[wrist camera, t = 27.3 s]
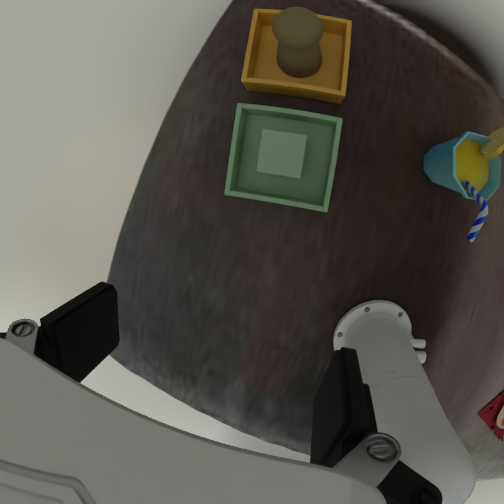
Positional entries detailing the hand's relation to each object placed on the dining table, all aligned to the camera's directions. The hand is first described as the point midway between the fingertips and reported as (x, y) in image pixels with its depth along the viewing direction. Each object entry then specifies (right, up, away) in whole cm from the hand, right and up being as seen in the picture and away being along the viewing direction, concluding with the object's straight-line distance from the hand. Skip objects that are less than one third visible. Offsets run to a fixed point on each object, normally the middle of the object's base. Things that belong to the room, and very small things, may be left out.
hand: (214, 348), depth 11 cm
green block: (+6, +16, +24) cm, 29 cm away
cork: (+8, +29, +20) cm, 36 cm away
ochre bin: (+8, +29, +20) cm, 36 cm away
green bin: (+6, +16, +24) cm, 30 cm away
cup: (+27, +15, +21) cm, 37 cm away
